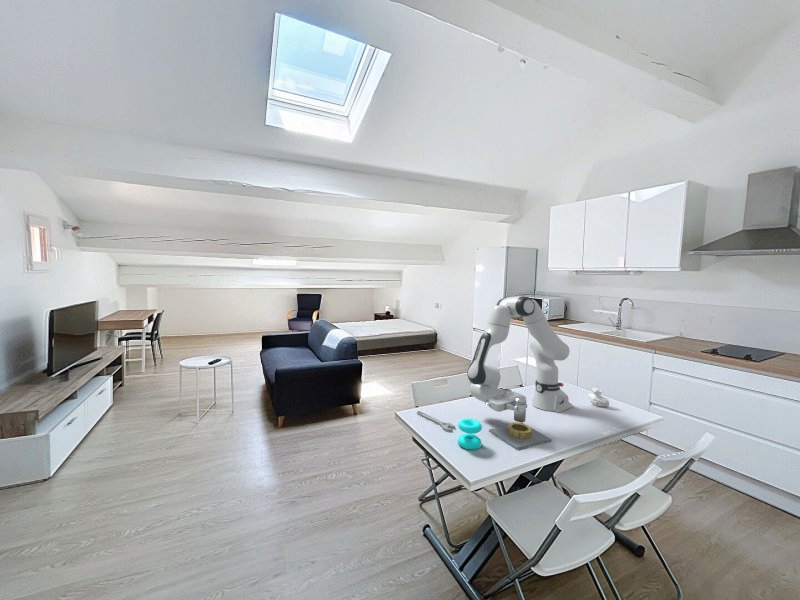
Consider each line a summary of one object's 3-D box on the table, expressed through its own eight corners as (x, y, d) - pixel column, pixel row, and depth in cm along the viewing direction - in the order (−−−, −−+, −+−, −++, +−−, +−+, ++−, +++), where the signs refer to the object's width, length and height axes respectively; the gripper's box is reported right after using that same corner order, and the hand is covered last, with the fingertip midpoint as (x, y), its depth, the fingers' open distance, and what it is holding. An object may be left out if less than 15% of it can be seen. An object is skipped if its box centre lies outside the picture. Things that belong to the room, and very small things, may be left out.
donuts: (453, 420, 144) (470, 415, 149) (452, 442, 145) (470, 437, 150) (469, 429, 135) (487, 424, 140) (468, 453, 136) (486, 447, 141)
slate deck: (521, 424, 164) (521, 422, 164) (551, 441, 147) (551, 438, 147) (489, 431, 156) (489, 429, 156) (516, 449, 139) (516, 447, 139)
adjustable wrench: (415, 414, 174) (415, 411, 174) (425, 412, 178) (425, 409, 178) (447, 433, 154) (448, 429, 154) (458, 430, 157) (458, 426, 157)
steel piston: (519, 417, 154) (520, 395, 154) (527, 421, 150) (528, 399, 149) (511, 418, 152) (512, 397, 151) (519, 423, 147) (520, 401, 147)
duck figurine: (587, 405, 195) (580, 392, 192) (595, 396, 197) (587, 383, 194) (607, 413, 184) (599, 399, 181) (614, 403, 186) (607, 389, 183)
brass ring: (520, 427, 158) (520, 421, 158) (536, 436, 149) (536, 430, 149) (503, 431, 154) (503, 424, 154) (518, 441, 145) (519, 434, 145)
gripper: (482, 395, 155) (507, 405, 144) (511, 388, 166) (535, 396, 155) (482, 408, 156) (506, 419, 144) (510, 400, 167) (535, 410, 155)
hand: (521, 407), depth 150 cm, fingers closed on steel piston, 5 cm apart
